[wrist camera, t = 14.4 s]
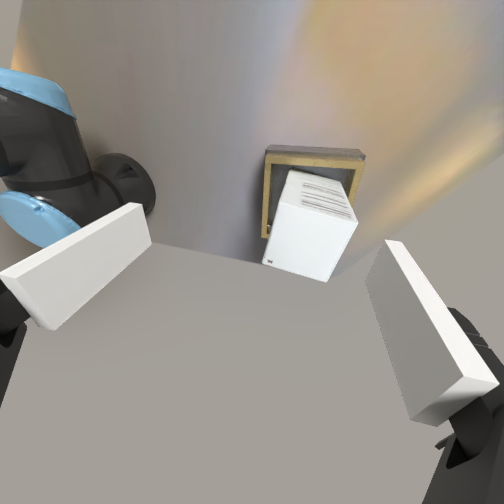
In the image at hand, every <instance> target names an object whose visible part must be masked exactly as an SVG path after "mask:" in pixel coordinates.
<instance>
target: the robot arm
mask: <svg viewBox="0 0 504 504" xmlns="http://www.w3.org/2000/svg"><path fill="white" fill-rule="evenodd" d="M76 120H77V119H76V116H75V115H74V114H73V112H72V109H71V106H70V104H69V101H68V98H67V96H66V94H65V92H64V91H63V89H62V88H61V87H60V86H59V85H57V84H56V83H54V82H52V81H50V80H48V79H45V78H42V77H38V76H34V75H31V74H27V73H23V72H19V71H15V70H10V69H5V68H1V67H0V177H1V178H2V179H3V181H4V183H5V185H6V187H7V189H8V191H3V192H2V193H1V194H0V215H1V216H2V217H3V219H4V220H5V221H6V222H7V223H8V224H9V225H10V226H11V227H12V228H13V229H14V230H15V231H16V232H17V233H19V234H20V235H21V236H23V237H24V238H26V239H28V240H29V241H30V242H32V243H34V244H36V245H38V246H40V247H42V248H44V249H43V250H41V251H39V252H37V253H35V254H33V255H32V256H30V257H28V258H26V259H24V260H22V261H20V262H19V263H17V264H15V265H13V266H11V267H9V268H7V269H6V270H4V271H2V272H0V407H1V404H2V401H3V398H4V395H5V392H6V389H7V386H8V383H9V380H10V378H11V375H12V371H13V369H14V366H15V363H16V360H17V357H18V354H19V351H20V348H21V345H22V342H23V339H24V336H25V333H26V331H27V326H26V324H25V323H24V321H26V320H27V319H28V318H30V317H31V318H32V319H33V320H34V322H35V323H36V324H37V325H38V327H42V328H46V329H50V330H56V329H57V328H58V327H59V326H60V325H61V324H63V323H64V322H65V321H66V320H67V319H68V318H69V317H70V316H72V315H73V314H74V313H75V312H76V311H77V310H78V309H80V308H81V307H82V306H83V305H84V304H85V303H86V302H87V301H89V300H90V299H91V298H92V297H93V296H94V295H95V294H96V293H98V292H99V291H100V290H101V289H102V288H103V287H104V286H106V284H108V283H109V282H110V281H111V280H112V279H113V278H115V276H117V275H118V274H119V273H120V272H121V271H122V270H124V269H125V268H126V267H127V266H128V265H129V264H130V263H131V262H133V261H134V260H135V259H136V258H137V257H138V256H139V255H140V254H142V253H143V252H144V251H145V250H146V249H147V248H148V247H150V246H151V245H152V244H151V239H150V235H149V231H148V227H147V223H146V219H145V215H144V214H146V213H148V212H149V211H150V210H151V209H152V208H153V206H154V203H155V189H154V186H153V183H152V181H151V179H150V177H149V175H148V174H147V172H146V171H145V170H144V168H143V167H142V166H141V165H140V164H139V163H138V162H136V161H135V160H133V159H132V158H130V157H128V156H126V155H123V154H119V153H112V154H107V155H104V156H101V157H99V158H98V159H96V160H95V161H94V162H93V163H92V164H91V165H90V163H89V160H88V157H87V154H86V151H85V148H84V145H83V142H82V138H81V135H80V132H79V129H78V126H77V123H76ZM365 284H366V287H367V290H368V293H369V296H370V299H371V302H372V305H373V308H374V311H375V314H376V317H377V320H378V323H379V326H380V329H381V332H382V335H383V338H384V341H385V344H386V348H387V351H388V354H389V356H390V360H391V363H392V366H393V369H394V372H395V375H396V378H397V381H398V384H399V387H400V390H401V393H402V396H403V399H404V402H405V405H406V408H407V411H408V414H409V417H410V420H412V421H416V422H420V423H424V424H428V425H432V426H436V427H438V426H439V425H440V424H442V423H443V422H445V421H446V420H448V419H449V421H450V423H451V425H452V428H453V429H454V433H453V434H451V435H450V436H448V437H446V438H445V439H443V440H441V441H440V442H438V443H437V444H436V445H435V447H436V448H437V449H439V450H440V449H441V448H443V447H445V448H444V451H443V453H442V456H441V458H440V460H439V463H438V466H437V468H436V471H435V473H434V475H433V478H432V480H431V483H430V485H429V488H428V490H427V493H426V495H425V498H424V500H423V502H422V504H504V366H503V364H502V363H501V362H500V360H499V359H498V358H497V356H496V355H495V354H494V352H493V351H492V350H491V349H489V348H488V345H487V343H486V342H485V340H484V339H483V338H482V337H480V334H479V333H478V331H477V330H476V329H475V327H474V326H473V325H472V323H471V322H470V321H469V320H468V319H467V318H466V317H464V316H463V315H462V314H461V313H460V312H458V311H457V310H456V309H454V308H448V307H446V306H445V304H444V303H443V302H442V300H441V299H440V297H439V296H438V294H437V293H436V291H435V290H434V289H433V287H432V286H431V284H430V283H429V282H428V280H427V278H426V277H425V275H424V274H423V273H422V271H421V270H420V268H419V267H418V266H417V264H416V263H415V261H414V260H413V258H412V257H411V255H410V254H409V253H408V251H407V250H406V248H405V247H404V245H403V244H402V243H401V242H398V241H390V240H384V242H383V244H382V246H381V248H380V250H379V252H378V254H377V257H376V259H375V261H374V263H373V265H372V267H371V269H370V272H369V274H368V276H367V278H366V280H365Z"/></svg>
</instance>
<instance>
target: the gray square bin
mask: <svg viewBox="0 0 504 504" xmlns="http://www.w3.org/2000/svg"><path fill="white" fill-rule="evenodd" d="M365 156H366V155H365V154H363V153H362V152H361V151H360V150H359V149H341V148H323V147H304V146H286V145H270V146H269V147H268V148H267V149H266V150H265V169H264V189H263V209H262V229H261V238H267V239H268V237H269V234H270V230H271V226H272V223H273V219H274V216H275V213H276V209H277V206H278V203H279V199H280V196H281V194H282V191H283V188H284V185H285V181H286V178H287V175H288V172H289V169H295V170H298V171H302V172H306V173H310V174H314V175H318V176H321V177H325V178H329V179H333V180H336V181H340V182H341V185H342V187H343V189H344V191H345V194H346V196H347V198H348V201H349V203H350V205H351V207H352V206H353V203H354V200H355V196H356V193H357V189H358V186H359V183H360V179H361V176H362V172H363V169H364V166H365V162H364V160H365Z"/></svg>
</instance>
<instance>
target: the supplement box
mask: <svg viewBox="0 0 504 504" xmlns="http://www.w3.org/2000/svg"><path fill="white" fill-rule="evenodd" d="M357 225H358V221H357V219H356V216H355V214H354V212H353V210H352V207H351V205H350V203H349V201H348V198H347V196H346V194H345V191H344V189H343V187H342V185H341V182H340V181H336V180H333V179H329V178H325V177H321V176H318V175H314V174H310V173H306V172H302V171H298V170H295V169H289V172H288V175H287V178H286V181H285V185H284V188H283V191H282V194H281V196H280V199H279V203H278V206H277V209H276V213H275V216H274V219H273V223H272V226H271V230H270V234H269V237H268V241H267V244H266V248H265V252H264V256H263V259H262V264H265V265H269V266H272V267H275V268H279V269H282V270H286V271H289V272H292V273H296V274H299V275H303V276H306V277H309V278H312V279H316V280H319V281H323V282H327V281H328V279H329V277H330V275H331V273H332V271H333V270H334V268H335V266H336V264H337V262H338V260H339V258H340V256H341V254H342V253H343V251H344V249H345V247H346V245H347V243H348V241H349V240H350V238H351V236H352V234H353V232H354V230H355V228H356V227H357Z"/></svg>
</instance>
